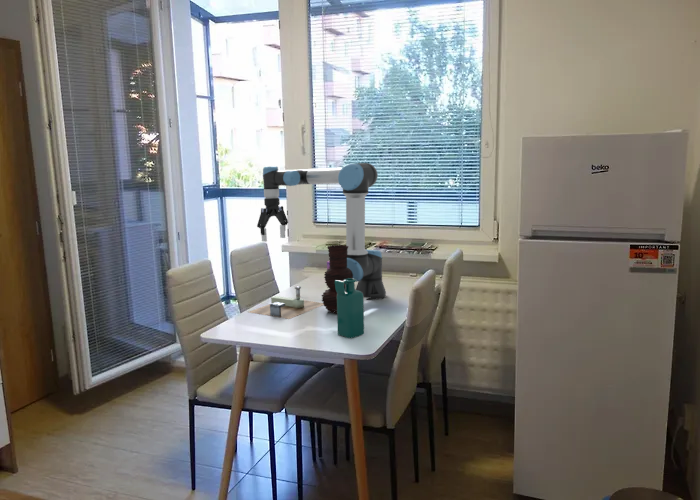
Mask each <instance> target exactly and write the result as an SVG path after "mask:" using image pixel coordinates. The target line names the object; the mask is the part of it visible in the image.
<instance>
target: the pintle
mask: <svg viewBox="0 0 700 500" xmlns="http://www.w3.org/2000/svg"><path fill="white" fill-rule="evenodd" d="M294 289H295V299H296V300H300V299H301V289H302V286H300V285H299V286H298V285H297V286H294Z"/></svg>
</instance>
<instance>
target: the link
mask: <svg viewBox="0 0 700 500" xmlns="http://www.w3.org/2000/svg"><path fill="white" fill-rule="evenodd" d="M304 300H305V299H303V298H300V300H296V298H293V297H286V296H281V295H278V296H277V295H274V296H271V297H270V302H271V303H270V304H272V303H274V302H279V303H285V306H290V307H293V308H302V307H304Z"/></svg>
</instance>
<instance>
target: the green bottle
mask: <svg viewBox="0 0 700 500" xmlns="http://www.w3.org/2000/svg"><path fill="white" fill-rule="evenodd" d="M356 281H357V280H356V279H353V278H347V279H344V280H343V281H340V280H335V289H336V292H337V313H336V315H337V316H336V319H337V320H336V321H337V335H338V336H341V337H344V338H347V339H354V338H357V337H361V336H364V335H365V309H364V307H365V306H364V305H365V304H364V303H365V302H364V301H365V299H364V298H365V297H363V293H362V292H361V291H358V290H356V287H355V285H356V284H355V283H357V282H358V281H357V282H356ZM344 284H345V290H344Z"/></svg>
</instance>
